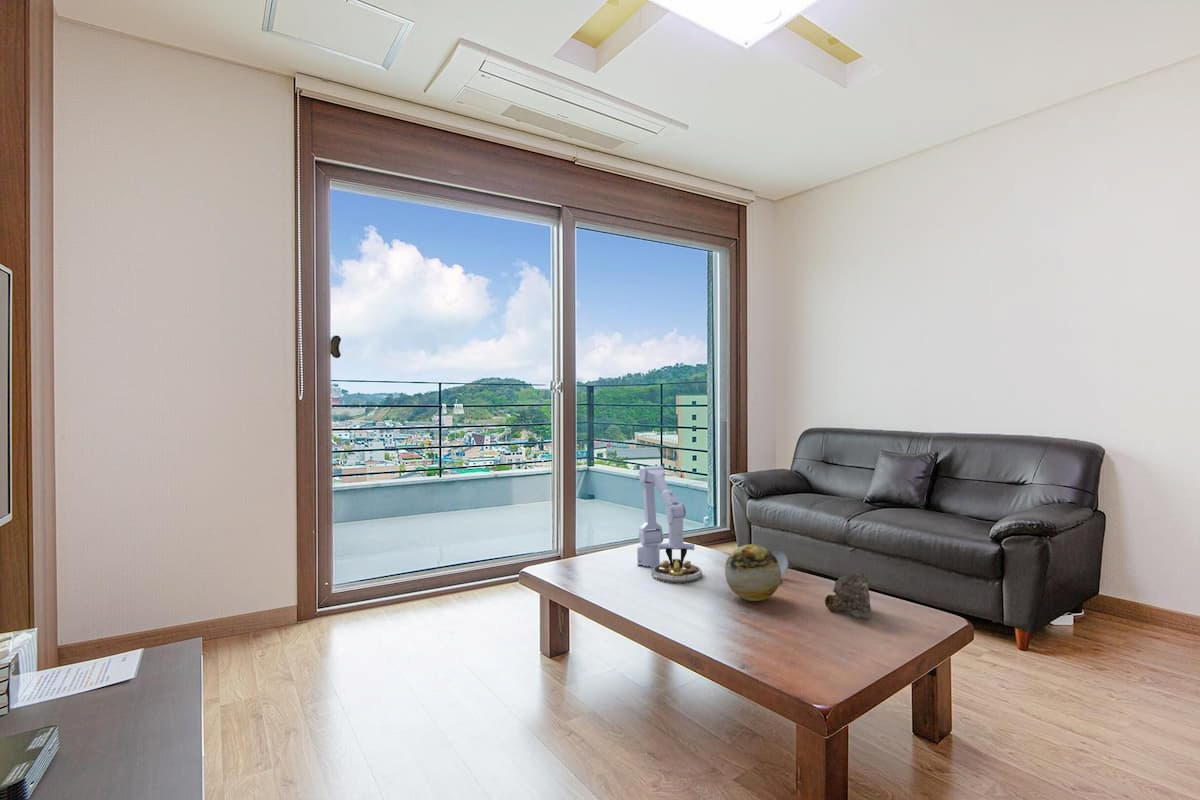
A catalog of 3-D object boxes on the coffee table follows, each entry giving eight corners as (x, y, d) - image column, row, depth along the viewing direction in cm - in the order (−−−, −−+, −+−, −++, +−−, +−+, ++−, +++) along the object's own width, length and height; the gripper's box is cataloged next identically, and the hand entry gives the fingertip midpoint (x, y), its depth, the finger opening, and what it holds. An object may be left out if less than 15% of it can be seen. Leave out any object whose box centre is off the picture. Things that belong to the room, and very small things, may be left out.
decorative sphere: (718, 604, 218) (717, 548, 218) (733, 588, 235) (732, 536, 235) (775, 612, 209) (774, 554, 208) (786, 595, 226) (785, 541, 226)
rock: (880, 568, 200) (832, 556, 206) (874, 609, 192) (824, 595, 198) (874, 592, 213) (829, 580, 219) (868, 631, 205) (821, 618, 211)
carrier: (643, 579, 249) (643, 566, 249) (663, 566, 267) (663, 554, 267) (691, 586, 239) (691, 573, 239) (708, 572, 257) (708, 560, 257)
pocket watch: (790, 553, 244) (764, 559, 236) (790, 580, 244) (764, 587, 236) (771, 548, 252) (745, 554, 244) (771, 574, 252) (745, 581, 244)
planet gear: (666, 575, 246) (666, 560, 246) (672, 571, 251) (672, 557, 251) (680, 577, 243) (680, 562, 243) (686, 573, 248) (686, 559, 248)
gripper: (657, 535, 244) (658, 569, 244) (694, 536, 242) (694, 570, 242) (658, 531, 251) (658, 564, 251) (693, 532, 249) (694, 565, 249)
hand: (676, 567), depth 247 cm, fingers closed on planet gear, 3 cm apart
